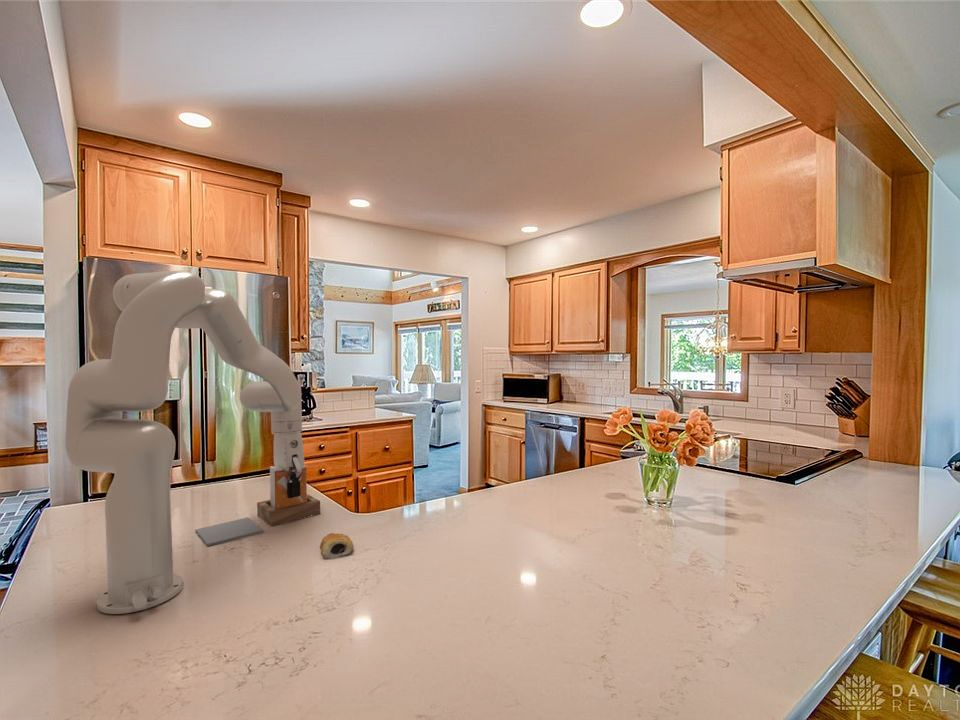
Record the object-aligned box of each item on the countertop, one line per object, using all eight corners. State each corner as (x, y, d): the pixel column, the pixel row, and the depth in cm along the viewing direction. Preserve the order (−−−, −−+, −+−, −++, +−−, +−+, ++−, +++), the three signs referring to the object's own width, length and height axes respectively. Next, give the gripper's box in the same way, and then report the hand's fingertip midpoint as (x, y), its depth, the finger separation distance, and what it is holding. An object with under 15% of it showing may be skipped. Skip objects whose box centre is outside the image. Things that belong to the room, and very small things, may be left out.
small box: (275, 521, 122) (273, 470, 122) (270, 514, 127) (269, 465, 127) (307, 515, 126) (306, 466, 126) (302, 508, 132) (301, 461, 131)
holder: (320, 514, 127) (320, 500, 127) (271, 526, 119) (271, 512, 119) (304, 504, 135) (304, 492, 135) (257, 515, 127) (257, 502, 127)
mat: (263, 532, 115) (263, 529, 115) (207, 546, 107) (207, 544, 107) (248, 519, 124) (248, 517, 124) (195, 532, 116) (195, 529, 116)
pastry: (317, 545, 107) (316, 528, 107) (347, 539, 110) (347, 523, 110) (322, 562, 99) (322, 543, 99) (355, 555, 102) (355, 537, 102)
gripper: (314, 428, 122) (315, 498, 123) (288, 421, 135) (290, 484, 136) (284, 432, 117) (286, 504, 118) (261, 424, 130) (262, 490, 131)
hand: (288, 493), depth 127 cm, fingers closed on small box, 6 cm apart
